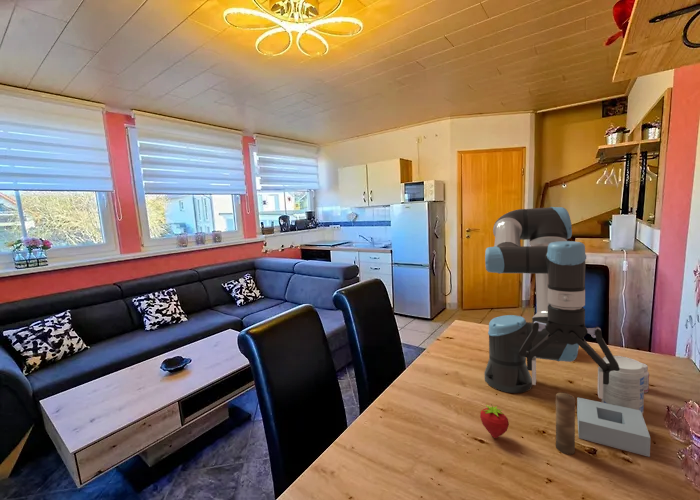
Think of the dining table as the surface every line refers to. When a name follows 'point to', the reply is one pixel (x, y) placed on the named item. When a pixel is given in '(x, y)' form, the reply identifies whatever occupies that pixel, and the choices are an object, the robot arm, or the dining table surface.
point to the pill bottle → (646, 378)
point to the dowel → (565, 423)
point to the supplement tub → (625, 384)
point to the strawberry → (494, 421)
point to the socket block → (613, 426)
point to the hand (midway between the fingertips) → (565, 388)
